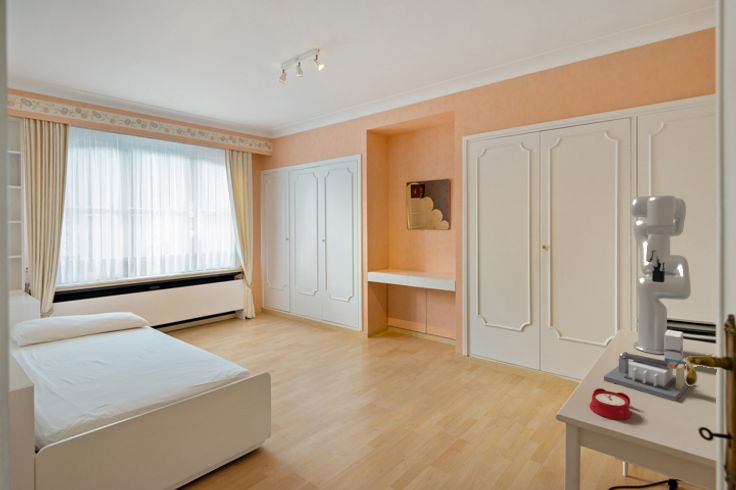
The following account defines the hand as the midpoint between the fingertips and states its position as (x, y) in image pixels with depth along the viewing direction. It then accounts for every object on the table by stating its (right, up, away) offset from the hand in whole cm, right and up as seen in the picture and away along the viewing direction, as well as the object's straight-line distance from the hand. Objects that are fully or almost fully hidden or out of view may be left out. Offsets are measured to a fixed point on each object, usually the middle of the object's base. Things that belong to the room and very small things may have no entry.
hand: (658, 281), depth 136 cm
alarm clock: (-31, -37, -22) cm, 53 cm away
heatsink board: (-9, -34, -6) cm, 36 cm away
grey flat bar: (-9, -27, -7) cm, 29 cm away
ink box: (+13, -32, +9) cm, 36 cm away
